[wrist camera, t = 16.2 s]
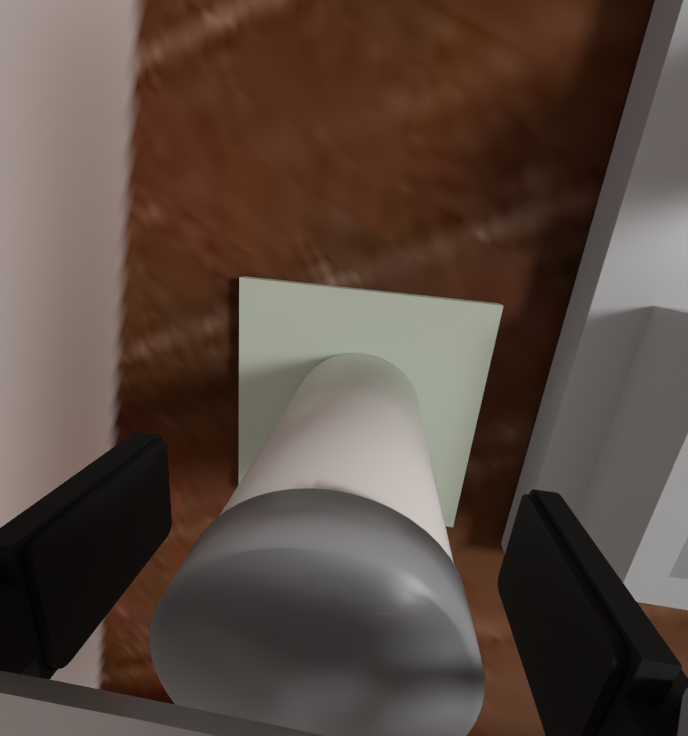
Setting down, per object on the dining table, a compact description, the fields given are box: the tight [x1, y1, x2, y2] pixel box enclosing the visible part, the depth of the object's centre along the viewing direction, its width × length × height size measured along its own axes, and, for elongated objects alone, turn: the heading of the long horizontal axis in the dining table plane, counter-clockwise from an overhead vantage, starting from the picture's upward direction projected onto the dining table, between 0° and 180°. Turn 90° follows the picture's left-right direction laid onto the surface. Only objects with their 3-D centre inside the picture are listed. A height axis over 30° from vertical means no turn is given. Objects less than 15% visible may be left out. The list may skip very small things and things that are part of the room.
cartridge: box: [150, 353, 485, 736], centre depth 11 cm, size 5×5×10 cm
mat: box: [239, 276, 503, 527], centre depth 16 cm, size 10×10×1 cm
